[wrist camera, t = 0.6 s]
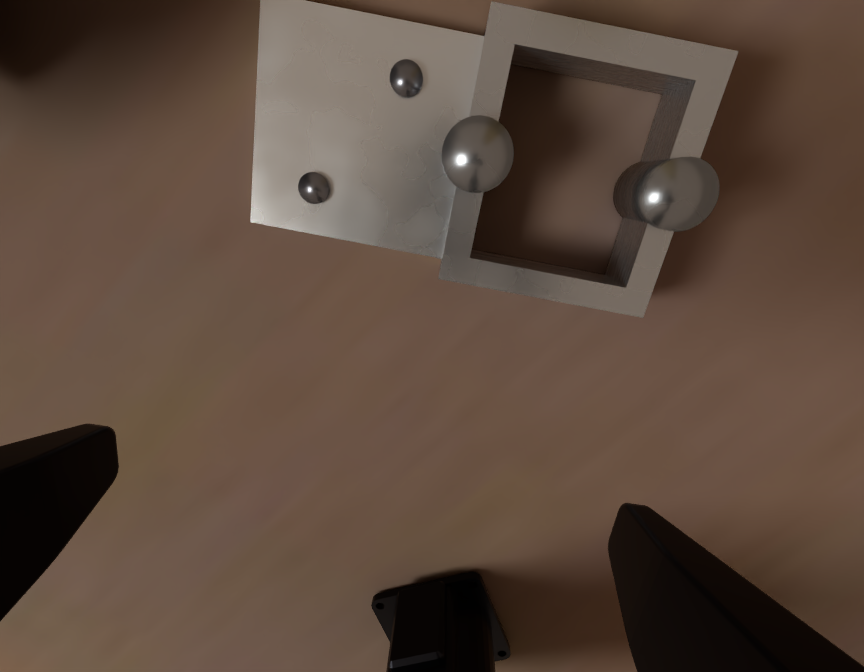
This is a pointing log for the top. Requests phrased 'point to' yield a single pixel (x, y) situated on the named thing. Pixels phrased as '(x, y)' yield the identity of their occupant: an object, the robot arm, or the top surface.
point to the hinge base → (467, 137)
